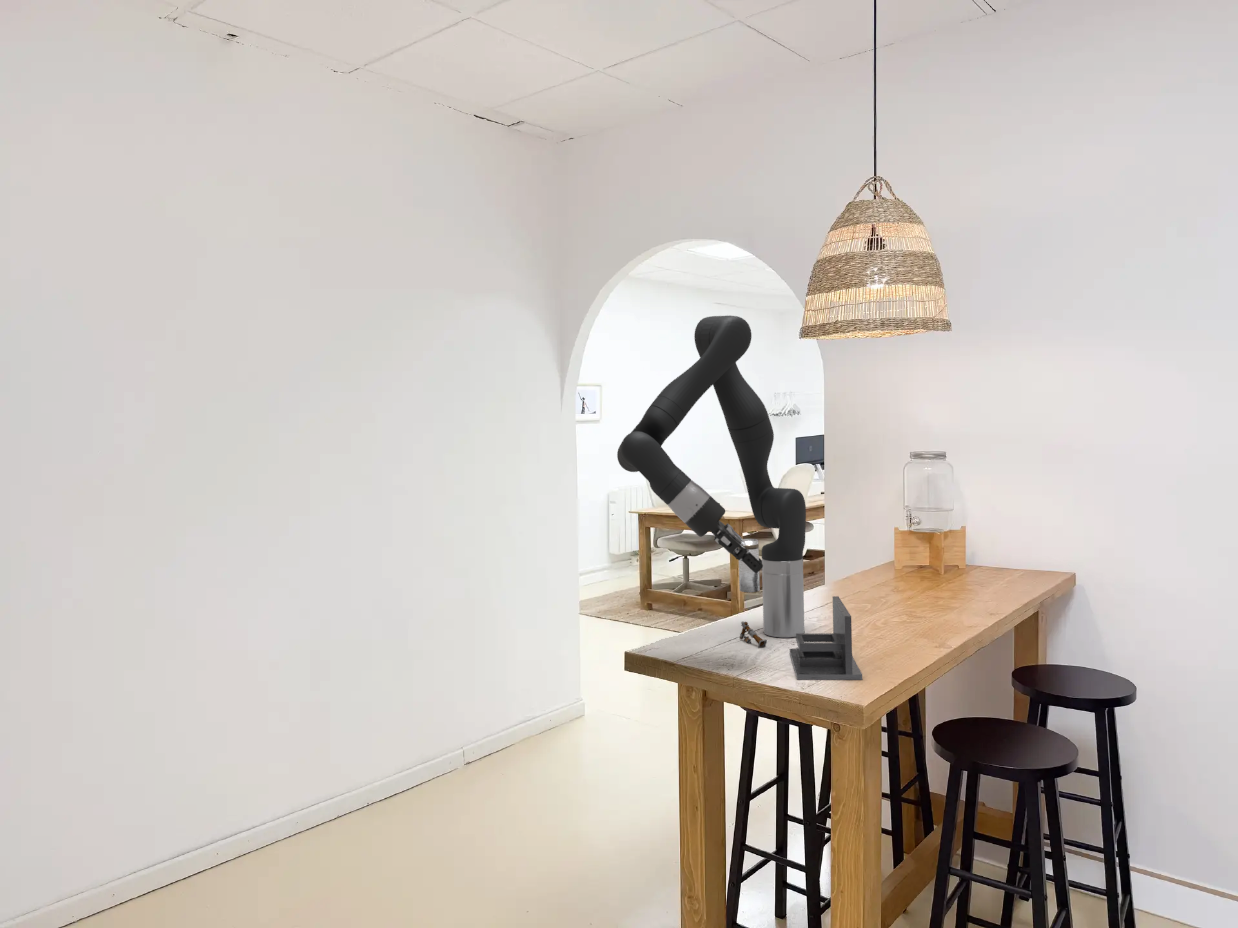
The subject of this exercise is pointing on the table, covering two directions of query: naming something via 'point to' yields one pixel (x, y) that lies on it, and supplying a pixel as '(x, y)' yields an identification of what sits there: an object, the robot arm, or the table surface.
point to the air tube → (747, 577)
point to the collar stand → (827, 651)
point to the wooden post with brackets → (751, 632)
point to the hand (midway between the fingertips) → (759, 567)
